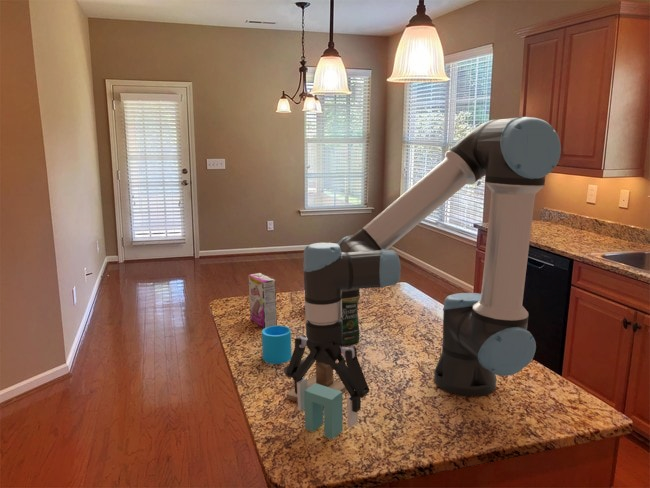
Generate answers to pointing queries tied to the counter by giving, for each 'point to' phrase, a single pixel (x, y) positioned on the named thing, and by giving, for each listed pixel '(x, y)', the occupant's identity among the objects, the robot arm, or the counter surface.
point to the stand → (318, 379)
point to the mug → (276, 344)
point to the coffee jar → (350, 316)
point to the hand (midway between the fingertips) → (327, 416)
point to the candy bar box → (262, 300)
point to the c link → (332, 405)
